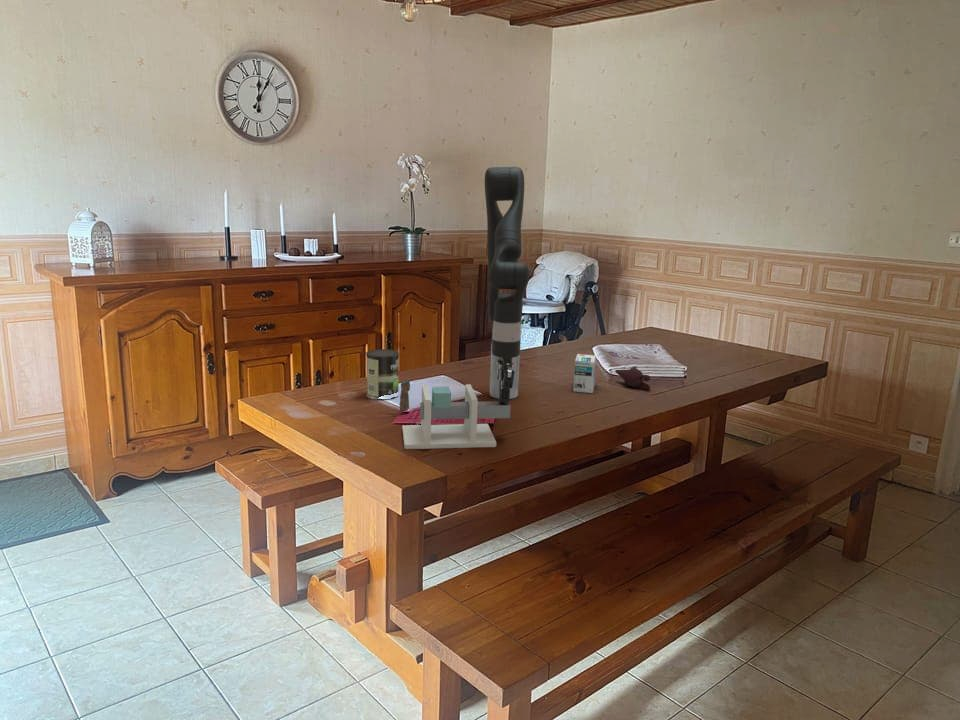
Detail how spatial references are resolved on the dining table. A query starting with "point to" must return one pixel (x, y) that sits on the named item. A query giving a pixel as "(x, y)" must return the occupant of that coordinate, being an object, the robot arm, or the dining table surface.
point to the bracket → (448, 428)
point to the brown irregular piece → (634, 378)
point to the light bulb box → (584, 373)
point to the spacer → (441, 397)
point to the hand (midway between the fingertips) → (503, 399)
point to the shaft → (462, 409)
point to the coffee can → (382, 372)
